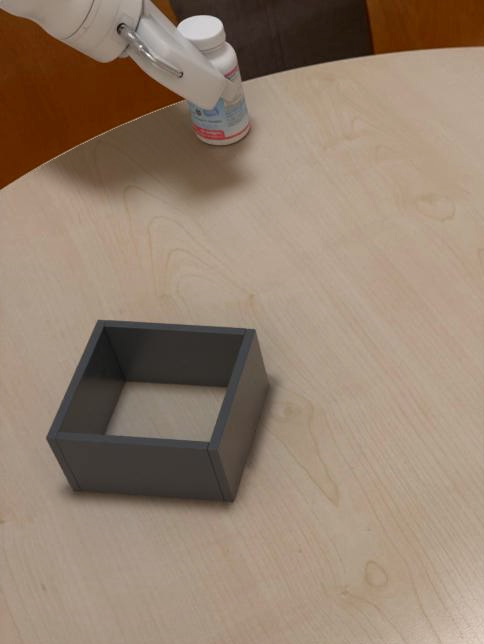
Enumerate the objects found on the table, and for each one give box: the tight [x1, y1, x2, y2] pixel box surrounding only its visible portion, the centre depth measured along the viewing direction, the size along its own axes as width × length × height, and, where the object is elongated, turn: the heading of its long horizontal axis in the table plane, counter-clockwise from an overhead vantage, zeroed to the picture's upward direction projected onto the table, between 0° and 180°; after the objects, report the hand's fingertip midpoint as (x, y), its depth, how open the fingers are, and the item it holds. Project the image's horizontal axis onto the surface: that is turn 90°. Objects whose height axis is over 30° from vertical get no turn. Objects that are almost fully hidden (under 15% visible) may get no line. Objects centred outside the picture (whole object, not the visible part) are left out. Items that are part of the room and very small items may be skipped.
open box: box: [45, 319, 270, 503], centre depth 88 cm, size 14×14×8 cm
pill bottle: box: [176, 14, 251, 146], centre depth 112 cm, size 6×6×11 cm
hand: (216, 75), depth 112 cm, fingers closed on pill bottle, 6 cm apart
